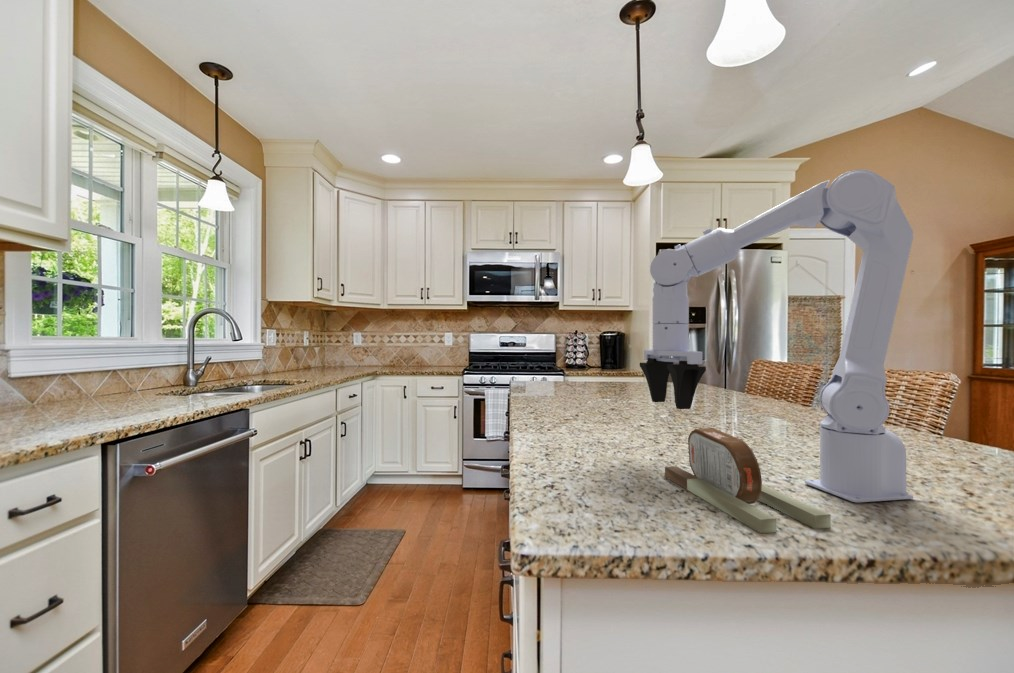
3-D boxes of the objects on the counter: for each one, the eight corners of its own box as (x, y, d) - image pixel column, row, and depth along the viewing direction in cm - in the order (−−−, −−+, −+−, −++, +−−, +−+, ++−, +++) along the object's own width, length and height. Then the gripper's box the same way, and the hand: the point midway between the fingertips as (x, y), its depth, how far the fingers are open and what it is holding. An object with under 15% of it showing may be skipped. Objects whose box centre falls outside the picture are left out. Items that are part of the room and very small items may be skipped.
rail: (716, 473, 69) (716, 464, 69) (830, 527, 49) (830, 514, 49) (664, 476, 67) (664, 466, 67) (760, 533, 47) (760, 519, 47)
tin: (764, 514, 53) (764, 445, 53) (739, 514, 53) (739, 446, 53) (703, 475, 68) (703, 422, 68) (684, 476, 68) (684, 422, 68)
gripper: (628, 325, 79) (628, 399, 79) (672, 322, 65) (672, 412, 64) (664, 325, 80) (663, 398, 80) (714, 322, 66) (714, 411, 66)
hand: (670, 405), depth 72 cm, fingers open, 7 cm apart
